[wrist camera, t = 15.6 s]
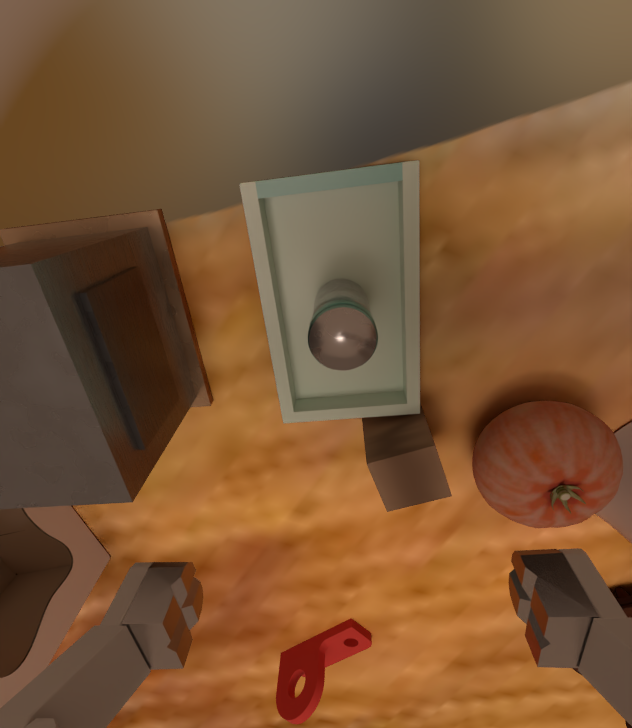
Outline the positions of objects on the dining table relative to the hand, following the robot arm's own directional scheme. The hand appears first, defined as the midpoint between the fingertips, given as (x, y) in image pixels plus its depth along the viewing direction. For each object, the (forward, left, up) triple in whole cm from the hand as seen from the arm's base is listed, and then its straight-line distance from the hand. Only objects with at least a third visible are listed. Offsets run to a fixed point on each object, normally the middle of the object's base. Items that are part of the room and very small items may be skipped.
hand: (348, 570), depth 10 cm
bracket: (+6, +45, -23) cm, 51 cm away
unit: (+18, 0, -23) cm, 29 cm away
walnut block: (-4, +12, -23) cm, 26 cm away
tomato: (-15, +14, -23) cm, 31 cm away
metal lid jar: (0, 0, -22) cm, 22 cm away
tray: (0, 0, -23) cm, 23 cm away
